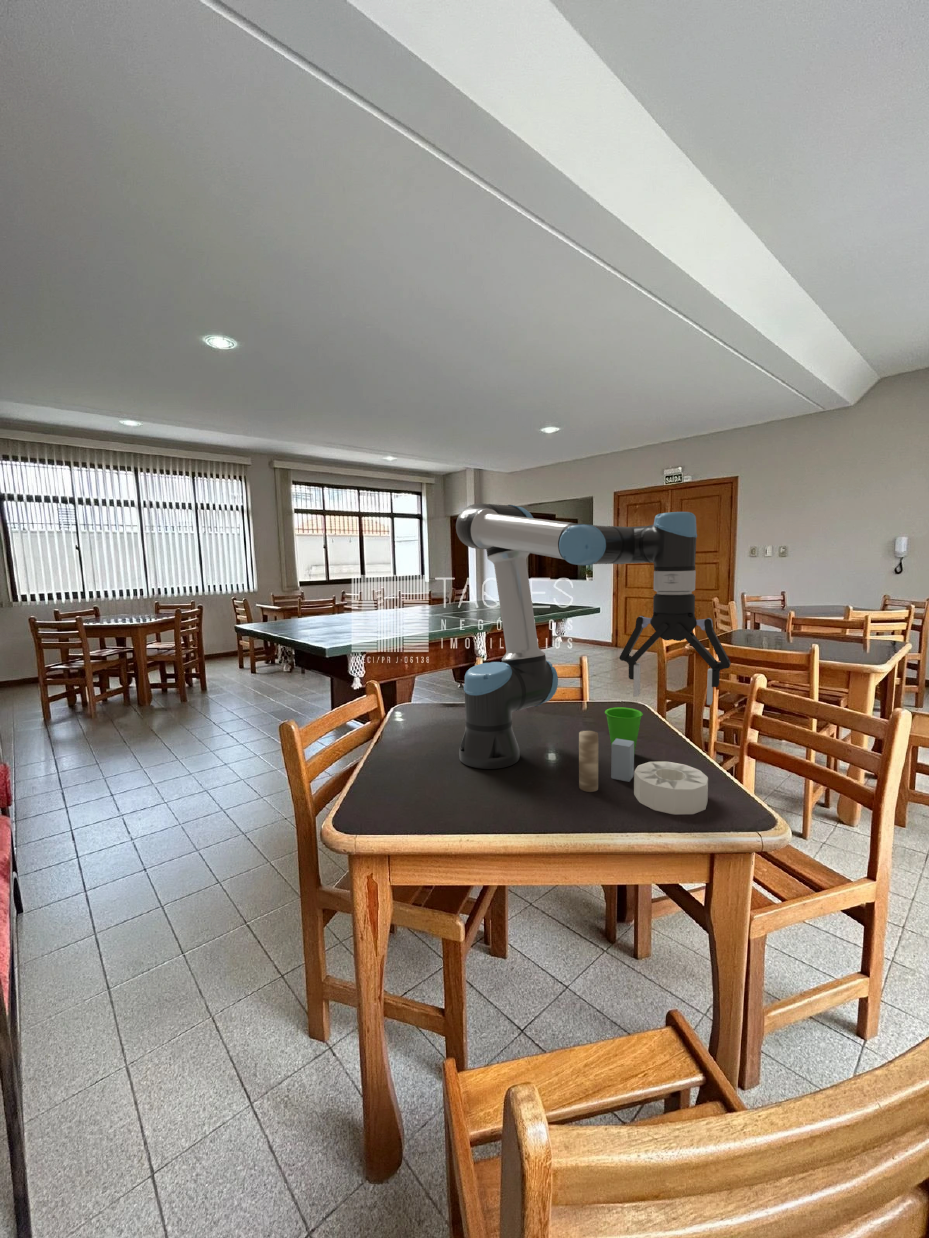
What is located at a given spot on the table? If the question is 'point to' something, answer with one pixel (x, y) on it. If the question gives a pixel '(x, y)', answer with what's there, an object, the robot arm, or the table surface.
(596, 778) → the dowel
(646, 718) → the table surface
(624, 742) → the square peg
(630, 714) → the cup
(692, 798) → the socket
